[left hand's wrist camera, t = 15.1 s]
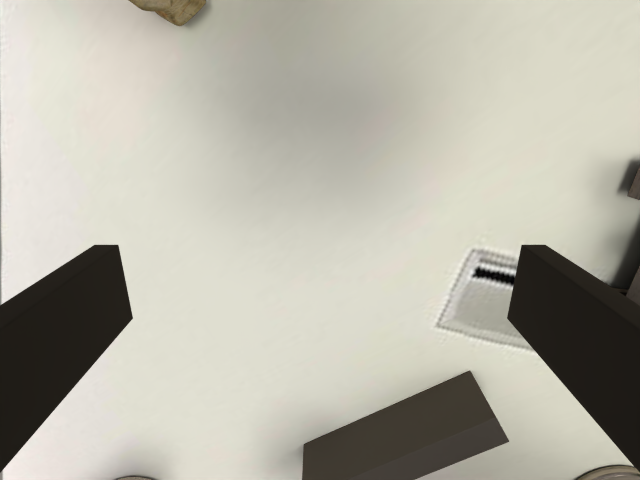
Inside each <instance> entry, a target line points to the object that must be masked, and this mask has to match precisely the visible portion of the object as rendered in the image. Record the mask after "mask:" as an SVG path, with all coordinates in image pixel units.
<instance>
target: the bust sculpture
mask: <svg viewBox="0 0 640 480" xmlns="http://www.w3.org/2000/svg"><path fill="white" fill-rule="evenodd" d="M118 480H151V479H147V478H142V477H126V478H121V479H118Z"/></svg>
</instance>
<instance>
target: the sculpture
mask: <svg viewBox="0 0 640 480" xmlns="http://www.w3.org/2000/svg"><path fill="white" fill-rule="evenodd" d="M129 1H130V2H132V3H133V4H135V5H136V6H137V7H139V8H140V9H142V10H145V11H155V12H156V13H157V14H158V15H160V16H161V17H163V18H164V19H166V20H167V21H169V22H171V23H173V24H175V25H177V26H182V25H184V24H185V23H186V22H187V21H189V20H190V19H191V18H192V17H193V16H194V15H195V14H196V13H197V12H198V11H199V10H200V9H201V8H202V7H203V6H204V4H205V3H206V0H129Z"/></svg>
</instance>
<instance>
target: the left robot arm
mask: <svg viewBox="0 0 640 480" xmlns="http://www.w3.org/2000/svg"><path fill="white" fill-rule="evenodd" d="M132 319H133V317H132V312H131V307H130V302H129V297H128V292H127V286H126V281H125V276H124V271H123V266H122V261H121V256H120V251H119V246H118V245H94V246H92V247H91V248H89V249H88V250H86V251H84V252H83V253H81V254H80V255H78V256H77V257H75V258H74V259H72V260H70V261H69V262H67V263H66V264H64V265H63V266H61V267H60V268H58V269H56V270H55V271H53V272H52V273H50V274H49V275H47V276H45V277H44V278H42V279H41V280H39V281H38V282H36V283H35V284H33V285H31V286H30V287H28V288H27V289H25V290H24V291H22V292H21V293H19V294H17V295H16V296H14V297H13V298H11V299H10V300H8V301H7V302H5V303H3V304H2V305H0V472H1V471H2V470H3V469H4V468H5V467H6V465H7V464H8V463H9V462H10V461H11V460H12V458H13V457H14V456H15V455H16V454H17V453H18V451H19V450H20V449H21V448H22V447H23V446H24V444H25V443H26V442H27V441H28V440H29V439H30V437H31V436H32V435H33V434H34V433H35V432H36V430H37V429H38V428H39V427H40V426H41V425H42V423H43V422H44V421H45V420H46V419H47V418H48V417H49V415H50V414H51V413H52V412H53V411H54V410H55V408H56V407H57V406H58V405H59V404H60V403H61V401H62V400H63V399H64V398H65V397H66V396H67V394H68V393H69V392H70V391H71V390H72V389H73V387H74V386H75V385H76V384H77V383H78V382H79V380H80V379H81V378H82V377H83V376H84V375H85V373H86V372H87V371H88V370H89V369H90V368H91V366H92V365H93V364H94V363H95V362H96V361H97V359H98V358H99V357H100V356H101V355H102V354H103V352H104V351H105V350H106V349H107V348H108V347H109V345H110V344H111V343H112V342H113V341H114V340H115V338H116V337H117V336H118V335H119V334H120V333H121V331H122V330H123V329H124V328H125V327H126V326H127V325H128V323H129V322H130V321H131V320H132ZM507 319H508V320H509V321H510V322H511V323H512V325H513V326H514V327H515V328H516V329H517V330H518V331H519V333H520V334H521V335H522V336H523V337H524V338H525V340H526V341H527V342H528V343H529V344H530V345H531V347H532V348H533V349H534V350H535V351H536V352H537V354H538V355H539V356H540V357H541V358H542V359H543V361H544V362H545V363H546V364H547V365H548V366H549V368H550V369H551V370H552V371H553V372H554V373H555V375H556V376H557V377H558V378H559V379H560V380H561V382H562V383H563V384H564V385H565V386H566V387H567V389H568V390H569V391H570V392H571V393H572V394H573V396H574V397H575V398H576V399H577V400H578V401H579V403H580V404H581V405H582V406H583V407H584V408H585V410H586V411H587V412H588V413H589V414H590V415H591V417H592V418H593V419H594V420H595V421H596V422H597V423H598V425H599V426H600V427H601V428H602V429H603V430H604V432H605V433H606V434H607V435H608V436H609V437H610V439H611V440H612V441H613V442H614V443H615V444H616V446H617V447H618V448H619V449H620V450H621V451H622V453H623V454H624V455H625V456H626V457H627V458H628V460H629V461H630V462H631V463H632V464H633V465H634V467H635V468H636V469H637V470H638V471H639V472H640V305H638V304H637V303H635V302H633V301H632V300H630V299H629V298H627V297H626V296H624V295H623V294H621V293H619V292H618V291H616V290H615V289H613V288H612V287H610V286H609V285H607V284H605V283H604V282H602V281H601V280H599V279H598V278H596V277H595V276H593V275H591V274H590V273H588V272H587V271H585V270H584V269H582V268H580V267H579V266H577V265H576V264H574V263H573V262H571V261H570V260H568V259H566V258H565V257H563V256H562V255H560V254H559V253H557V252H556V251H554V250H552V249H551V248H549V247H548V246H546V245H522V246H521V251H520V256H519V261H518V266H517V271H516V276H515V281H514V286H513V292H512V297H511V302H510V307H509V312H508V317H507Z"/></svg>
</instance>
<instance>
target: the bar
mask: <svg viewBox="0 0 640 480" xmlns="http://www.w3.org/2000/svg"><path fill="white" fill-rule="evenodd" d="M507 442H509V440H508V438H507V436H506V434H505V433H504V431H503V429H502V427H501V425H500V424H499V422H498V420H497V418H496V416H495V414H494V413H493V411H492V409H491V407H490V405H489V404H488V402H487V400H486V398H485V396H484V395H483V393H482V391H481V389H480V387H479V386H478V384H477V382H476V380H475V378H474V377H473V375H472V373H471V371H468V372H466V373H464V374H461V375H459V376H457V377H455V378H452V379H450V380H448V381H446V382H443V383H441V384H439V385H437V386H434V387H432V388H430V389H428V390H425V391H423V392H421V393H419V394H416V395H414V396H412V397H410V398H407V399H405V400H403V401H401V402H398V403H396V404H394V405H392V406H389V407H387V408H385V409H383V410H380V411H378V412H376V413H374V414H371V415H369V416H367V417H364V418H362V419H360V420H358V421H355V422H353V423H351V424H349V425H346V426H344V427H342V428H340V429H337V430H335V431H333V432H331V433H328V434H326V435H324V436H322V437H319V438H317V439H315V440H313V441H310V442H308V443H306V444H304V452H303V473H302V480H415V479H417V478H420V477H422V476H425V475H427V474H430V473H432V472H435V471H437V470H440V469H442V468H445V467H447V466H450V465H452V464H455V463H457V462H460V461H462V460H465V459H467V458H470V457H472V456H474V455H477V454H479V453H482V452H484V451H487V450H489V449H492V448H494V447H497V446H499V445H502V444H504V443H507Z"/></svg>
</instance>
